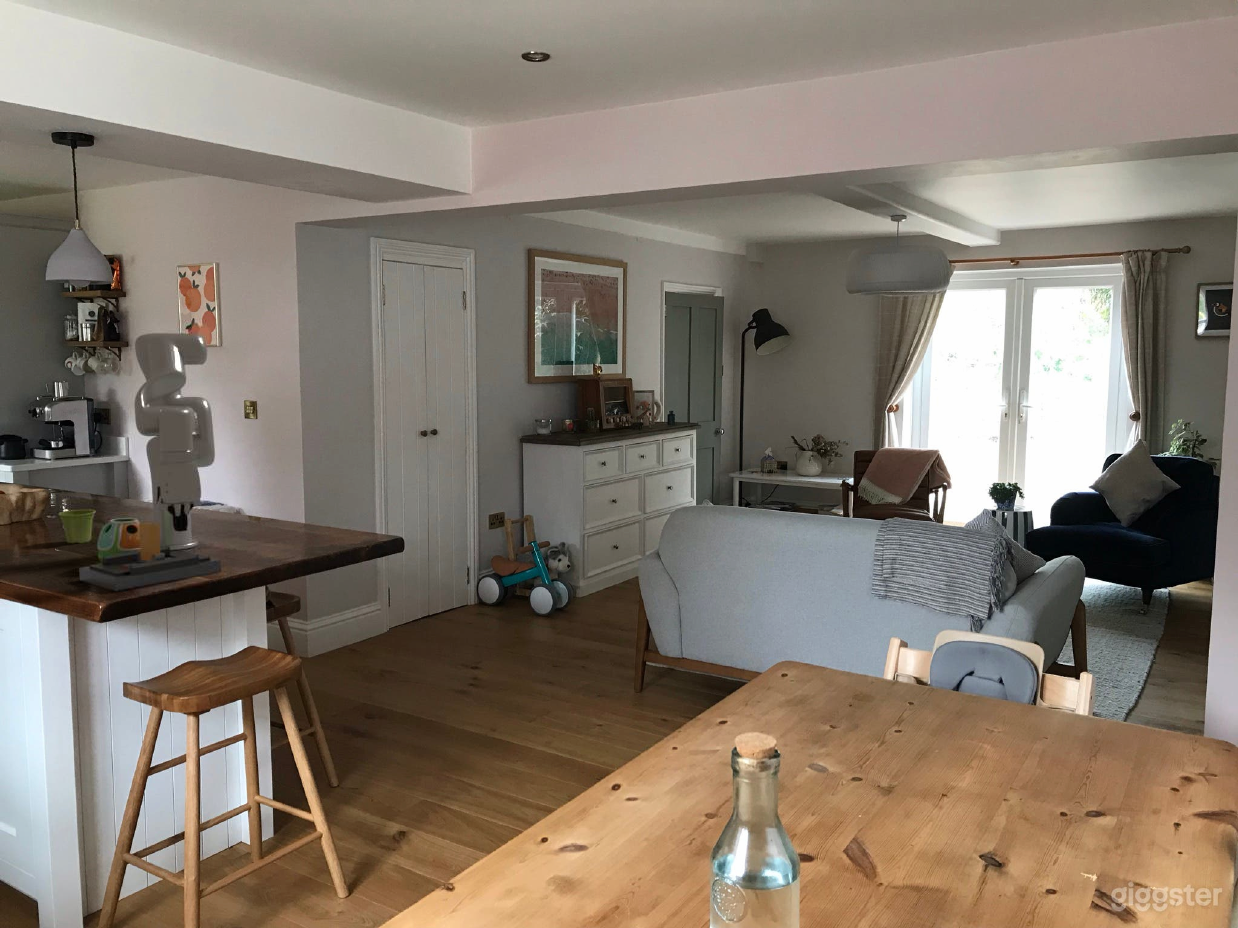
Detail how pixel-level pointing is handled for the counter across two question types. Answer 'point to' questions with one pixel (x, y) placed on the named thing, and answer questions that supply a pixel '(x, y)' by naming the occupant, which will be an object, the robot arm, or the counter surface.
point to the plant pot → (77, 525)
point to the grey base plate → (121, 579)
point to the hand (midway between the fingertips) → (180, 530)
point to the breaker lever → (149, 540)
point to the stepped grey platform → (151, 566)
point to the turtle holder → (119, 537)
